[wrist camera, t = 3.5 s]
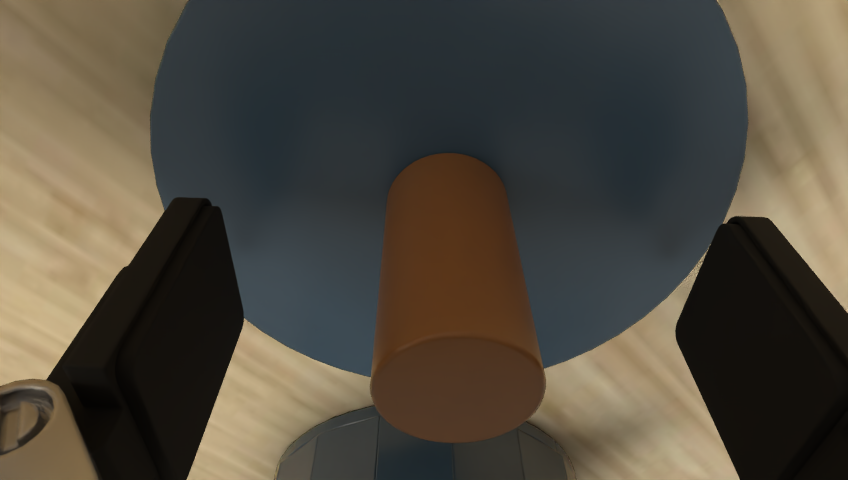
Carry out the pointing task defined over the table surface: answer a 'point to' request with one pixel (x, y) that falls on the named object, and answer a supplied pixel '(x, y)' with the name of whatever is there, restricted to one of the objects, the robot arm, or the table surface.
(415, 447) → the pot
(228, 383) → the table surface
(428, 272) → the lid
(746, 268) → the robot arm
